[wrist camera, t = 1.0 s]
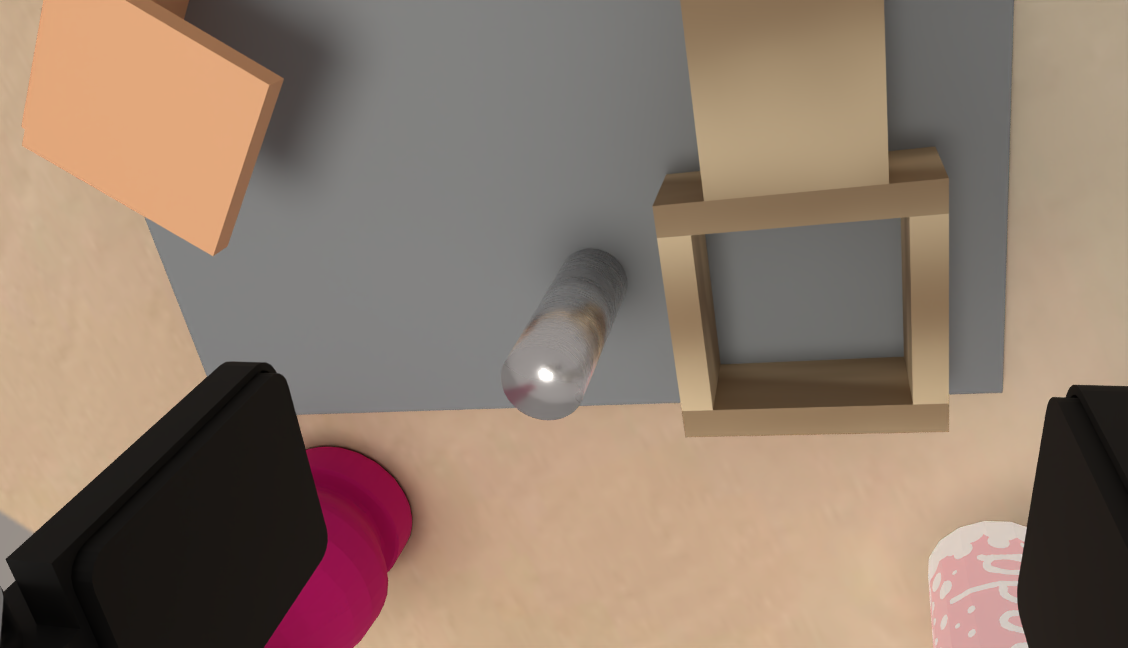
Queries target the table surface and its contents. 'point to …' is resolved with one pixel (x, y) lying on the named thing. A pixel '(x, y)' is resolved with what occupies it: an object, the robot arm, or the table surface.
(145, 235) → the table surface
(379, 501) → the pepper mill
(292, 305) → the board
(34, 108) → the keeper
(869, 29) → the link
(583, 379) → the grey rounded rod
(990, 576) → the beverage cup
